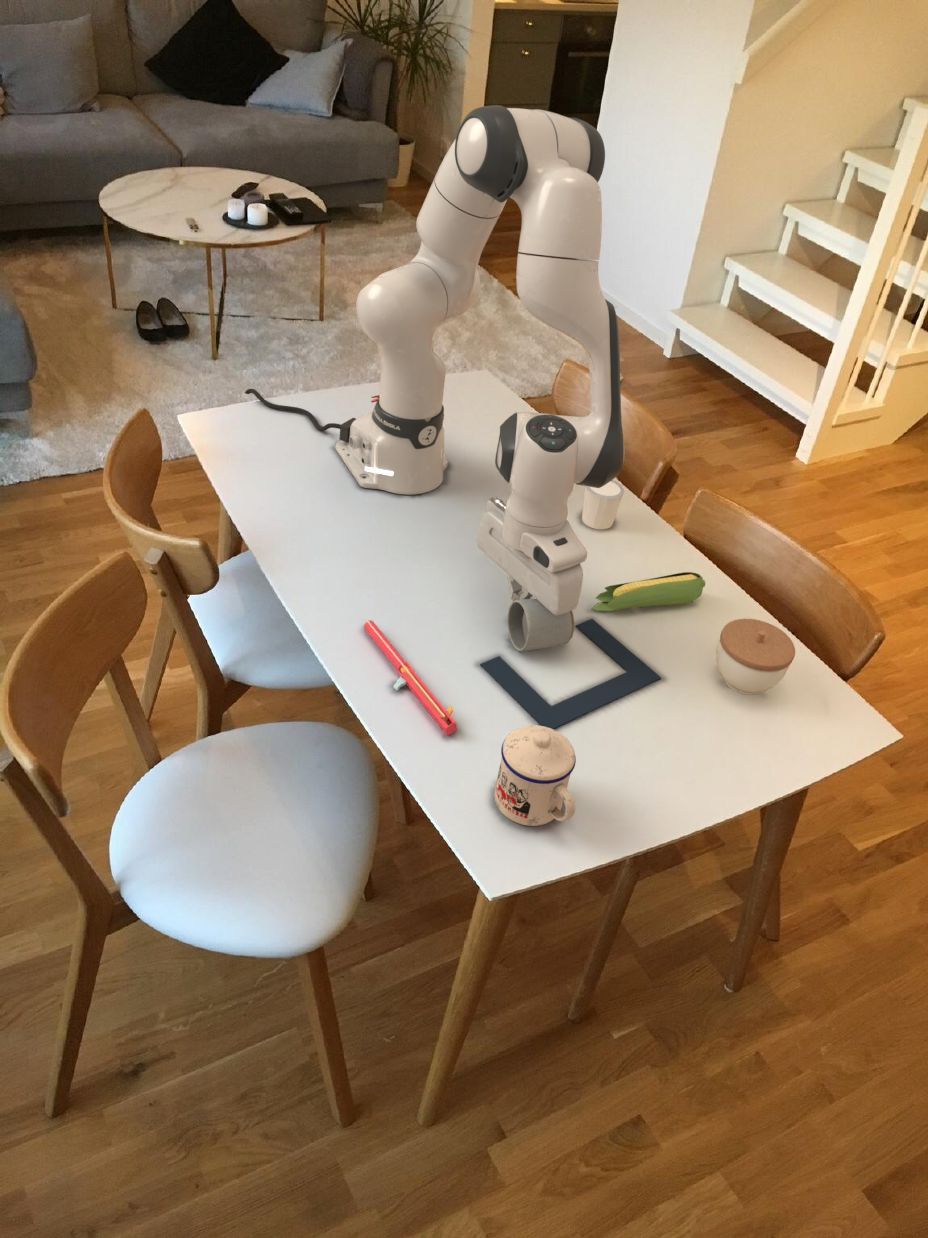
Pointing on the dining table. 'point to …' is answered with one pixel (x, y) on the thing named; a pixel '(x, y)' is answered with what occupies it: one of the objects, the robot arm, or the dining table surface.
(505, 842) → the dining table surface
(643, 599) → the edible corn
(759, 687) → the trinket box
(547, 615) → the ceramic mug
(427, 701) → the red striped bar
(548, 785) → the teacup with lid
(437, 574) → the dining table surface
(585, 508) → the white faceted cylinder
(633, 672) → the dark grey flat piece
